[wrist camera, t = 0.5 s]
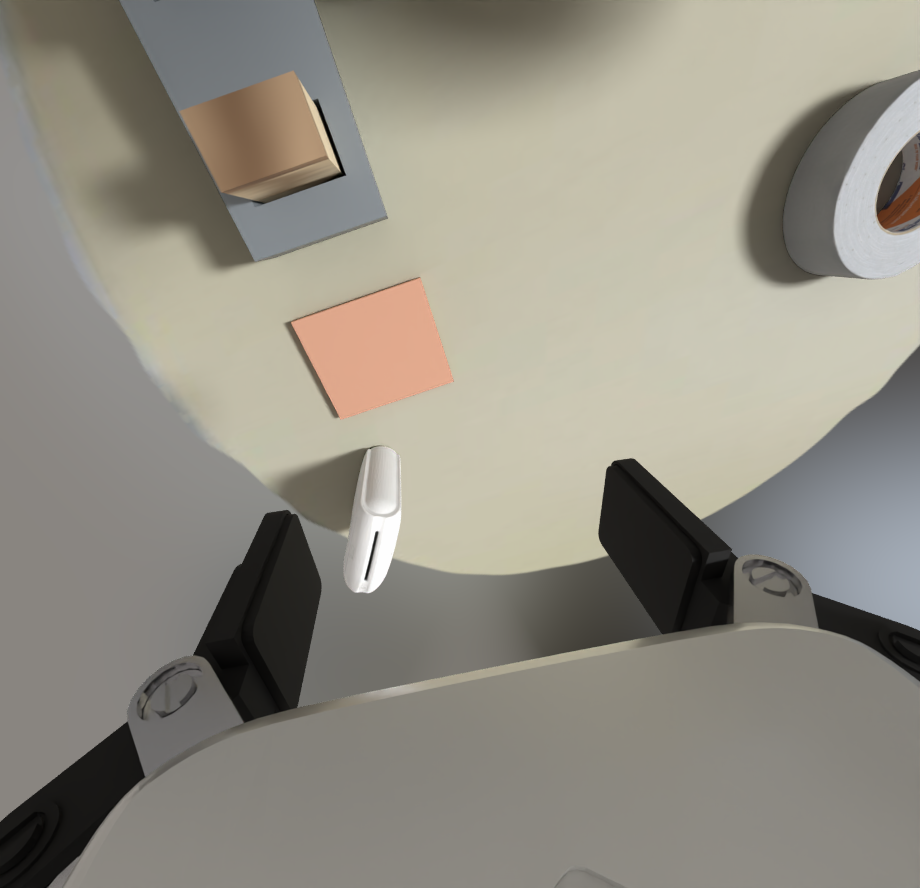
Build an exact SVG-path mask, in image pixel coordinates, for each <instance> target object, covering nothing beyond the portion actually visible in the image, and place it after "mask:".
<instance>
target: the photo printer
mask: <svg viewBox="0 0 920 888" xmlns="http://www.w3.org/2000/svg"><path fill="white" fill-rule="evenodd" d="M400 521H401V462H400V455H399V454H396V452H395V451H394V450H393V449H391V448H389V447H385V446H377V447H373V448H372V449H368V450H367V452H366V454H365V456H364V459H363V462H362V466H361V469H360V474H359V478H358V483H357V487H356V492H355V498H354V503H353V508H352V517H351V523H350V529H349V536H348V541H347V547H346V553H345V558H344V578H345V582H346V584H347V586H348V587H349V588H350V589H351V590H352V591H353V592H356V593H357V592H365V593H370V592H372V591H374V590H375V589H376V588H378V586H379V585H380V584H381V583H382V581H383V579H384V578H385V576H386V574H387V571H388V568H389V566H390V562H391V559H392V556H393V553H394V549H395V545H396V541H397V537H398V532H399V527H400Z"/></svg>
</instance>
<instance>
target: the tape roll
mask: <svg viewBox="0 0 920 888" xmlns="http://www.w3.org/2000/svg"><path fill="white" fill-rule="evenodd" d="M901 150H902V155H903V165H902V171H901V175H900V179H899V181H898V184H897V186H896V189H895V191H894V192H893V194H892V196H891V198H890V199H889V201H888V202H887V204H886V205H885V206H884V208H883V209H882V210H881V211H880V212H879V213H878V215H877V213H876V202H877V196H878V192H879V188H880V185H881V182H882V180H883V178H884V176H885V174H886V172H887V170H888V168H889V167H890V165H891V163H892V162H893V160H894V159H895V157H896V156H897V154H898V153H899V152H900V151H901ZM783 234H784V240H785V244H786V248H787V250H788V253H789V255H790V257H791V258H792V260H793V261H794V262H795V264H796V265H798V266H799V267H800V268H801V269H803V270H804V271H806V272H809V273H812V274H816V275H825V276H836V277H848V278H860V279H882V278H887V277H893V276H896V275H899V274H900V273H902V272H904V271H906V270H908V269H910V268H912V267H913V266H915V265H917V264H918V263H920V70H918V71H915V72H912V73H908V74H905V75H902V76H899V77H895V78H892V79H889V80H886V81H883V82H880V83H877V84H875V85H873V86H871V87H869V88H867V89H865V90H864V91H862V92H861V93H859V94H858V95H856V96H855V97H853V98H852V99H851V100H849V101H848V102H847V103H846V104H845V105H843V106H842V107H841V108H840V109H839V110H838V111H837V112H836V113H835V114H834V115H833V116H832V117H831V118H830V119H829V120H828V121H827V123H826V124H825V125H824V126H823V127H822V128H821V130H820V131H819V132H818V134H817V135H816V136H815V138H814V139H813V141H812V142H811V144H810V145H809V147H808V148H807V150H806V152H805V153H804V155H803V157H802V159H801V161H800V163H799V165H798V167H797V169H796V171H795V174H794V176H793V179H792V181H791V184H790V187H789V190H788V193H787V197H786V202H785V207H784V214H783Z"/></svg>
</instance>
